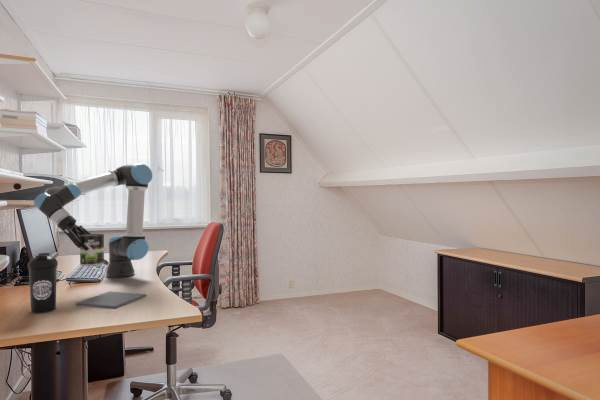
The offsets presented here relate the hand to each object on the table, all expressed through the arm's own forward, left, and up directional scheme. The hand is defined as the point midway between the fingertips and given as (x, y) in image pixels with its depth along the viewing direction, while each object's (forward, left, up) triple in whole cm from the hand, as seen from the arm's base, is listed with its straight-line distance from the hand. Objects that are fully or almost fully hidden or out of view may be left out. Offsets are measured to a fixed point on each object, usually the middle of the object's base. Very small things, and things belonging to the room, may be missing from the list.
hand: (98, 252), depth 186 cm
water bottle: (+29, -1, -19) cm, 35 cm away
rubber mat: (+10, +16, -19) cm, 27 cm away
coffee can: (+1, -3, -6) cm, 6 cm away
